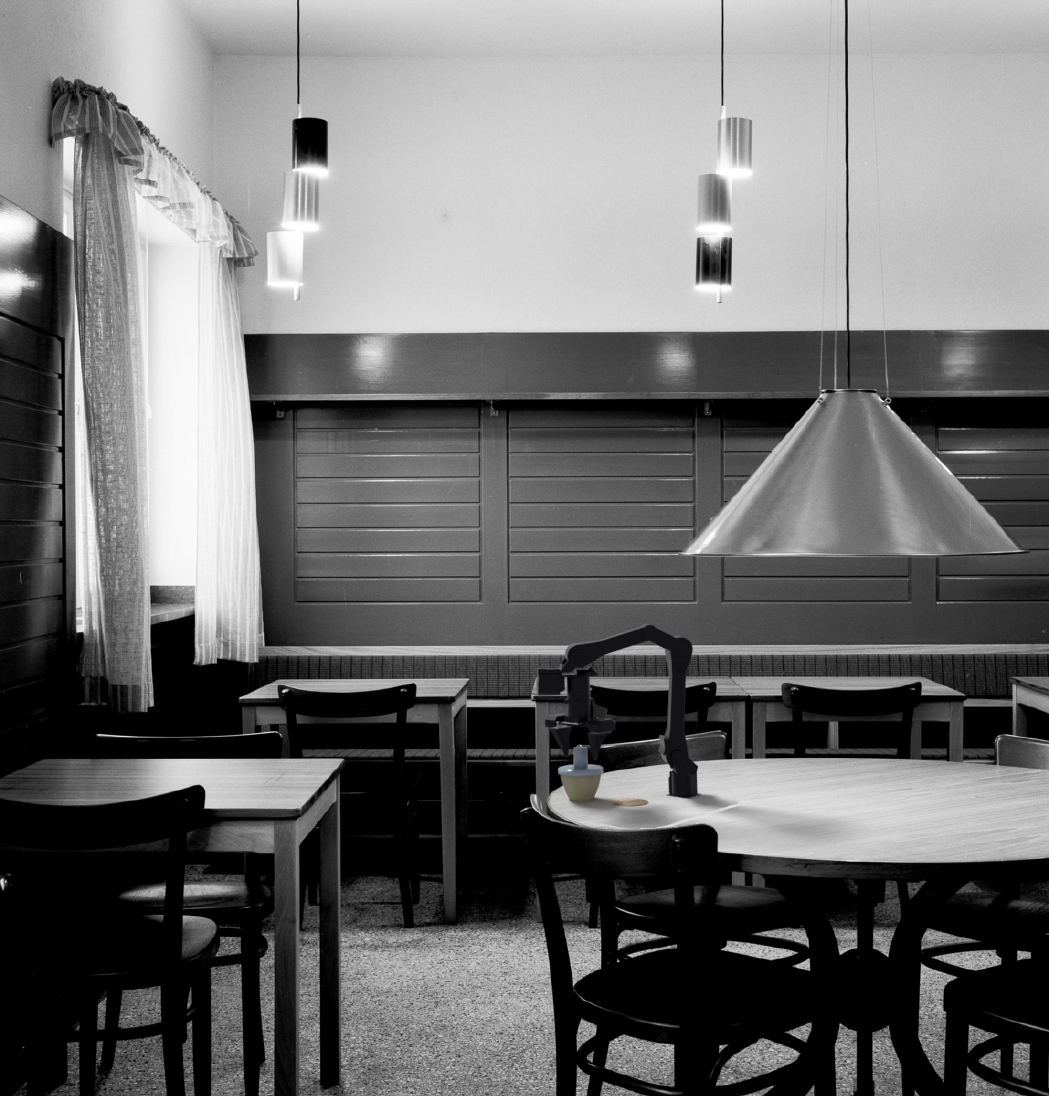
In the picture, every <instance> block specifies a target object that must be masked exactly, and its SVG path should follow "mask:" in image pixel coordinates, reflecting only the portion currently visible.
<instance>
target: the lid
mask: <svg viewBox="0 0 1049 1096" xmlns="http://www.w3.org/2000/svg"><path fill="white" fill-rule="evenodd" d="M572 750H573V753H572V754H573V755H572V756H573V764H568V765H563V766H559V768H558V769H557V770H558V771H557V772H558V773H557V774H559V775H560V776H561V775H564V776H572V777H586V776H595V775H600V774H601V775H602V774H604V767H603V766H602V765H598V764H588V763H589V762H588V747H587V746H586V747H585V746H575V747H573V749H572Z"/></svg>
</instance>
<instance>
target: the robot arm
mask: <svg viewBox="0 0 1049 1096" xmlns="http://www.w3.org/2000/svg"><path fill="white" fill-rule="evenodd" d="M645 642H651V643H653V644H654V645H656V646H658V647H660V648H662V649H663V650H664V651H665V660H666V664H667V667H668V697H667V700H668V702H667V703H668V704H667V721H666V724H667V726H666V730H665V733H664V735H661V734H660V735H658V738H659V748H658V750H657V751H658V752H659V753H660V755H661V758H662V760H663V761H664V762H665V763H666V764H667V765H668V766H669V768H670V771H668V772H669V773H668V774H669V775H668V778H667V779H668V781H667V782H668V794H666V796H668V797H673V798H680V799H691V798H693V797H697V796H700V795H702V793H699V791H698V769H699V765H698V764H697V763H695V761H693V760H692V759H691V758H690V754H689V748H688V741H687V737H686V732H685V717H686V714H685V713H686V693H687V691H686V690H687V689H686V687H687V684H686V683H687V672H688V671H689V667H690V664H691V662H692V661H691V659H692V656H693V652H694V651H693V650H694V647H693V644H692V642H691V640H689V639H688V638H686V637H683V636H680V635H671V634H669V633H668V632H665V631H663V630H661V629H659V628H657V627H656V625H654V624H651V623H643V624H642V625H641V626H638V627H636V628H632V629H630V630H629V629H628V630H626V631H623V632H620V633H617V634H613V635H610V636H608V637H605V638H602V639H596V640H586V641H580V642H573V643H571V644H569V645H568V646H567V647H566V649H565V651H564V652H565V653H564V656H565V657H564V658H563V659H562V661H561V663H559V665H558V667H557V668H556V667H555V668H551V667H550V668H544V667H537V675H536V682H535V683H536V695H537V696H536V697H544V696H545V697H547V696H548V697H549V696H550V697H551V696H561V693H563V692H565V689H566V694H567V695H566V696H567V697H566V698H564V699H563V704H567V705H566V706H567V707H566V709H567V713H559V712H558V713H554V714H548V715H546V717H545V719H544V727H545V728H548V731H550V732H551V734H552V735H553V737H554V738H555V741H556V742H557V743H558V746H559V748H560V750H561V752H562V755H563V756H564V757H569V755H570V754H569V752H570V732H571V731H572V728H573V727H579V728H586V729H587V728H588V730H589V732H587V736H588V737H587V738H588V743H589V749H590V755H591V758H592V761H597V760H598V756H599V753H600V751H601V747H602V744H603V742H604V739H605V738H606V737H607V736H608V735H610V734H611V733H612V732H613V731H616V722H615V720H614V719H613V718H608V717H607V712H608V708H606V707H604V706H601V705H599V704H595V703H596V702H595V698H594V697H591V677H597V676H598V675H599V673H598V672H597V671H595V669H594V668H593V667H592V665H590V664H592V663H594V662H595V661H597V660H599V659H601V658H602V657H604V656H606V655H608V654H611V653H615V652H619V651H621V650H624V649H627V648H630V647H633V646H636V645H639V644H642V643H645ZM588 665H589V666H588ZM587 666H588V667H587ZM585 667H587V668H585ZM581 668H582V669H581ZM573 671H574V672H573ZM565 678H566V679H565ZM565 683H566V684H565Z"/></svg>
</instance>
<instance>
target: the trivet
mask: <svg viewBox="0 0 1049 1096" xmlns="http://www.w3.org/2000/svg"><path fill="white" fill-rule="evenodd" d="M649 802H650V801H648V800H646V799H643V798H635V797H633V798H631V797H630V798H619V799H614V800H612V801H610V803H611V805H613V806H618V807H634V808H635V807H641V806H647V805H648V804H649Z"/></svg>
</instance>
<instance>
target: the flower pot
mask: <svg viewBox="0 0 1049 1096" xmlns="http://www.w3.org/2000/svg"><path fill="white" fill-rule="evenodd" d="M601 777H602V774H600V775H595V776H586V777H572V776H564V775H560V779H561V784H562V786H563V789H564V791H565V794H566V795H567V798H568V799H569V800H570V801H572V802H589V801H593V800H594V798H595V795H596V793H597V792H598V789H599V787H600V782H601Z"/></svg>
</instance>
